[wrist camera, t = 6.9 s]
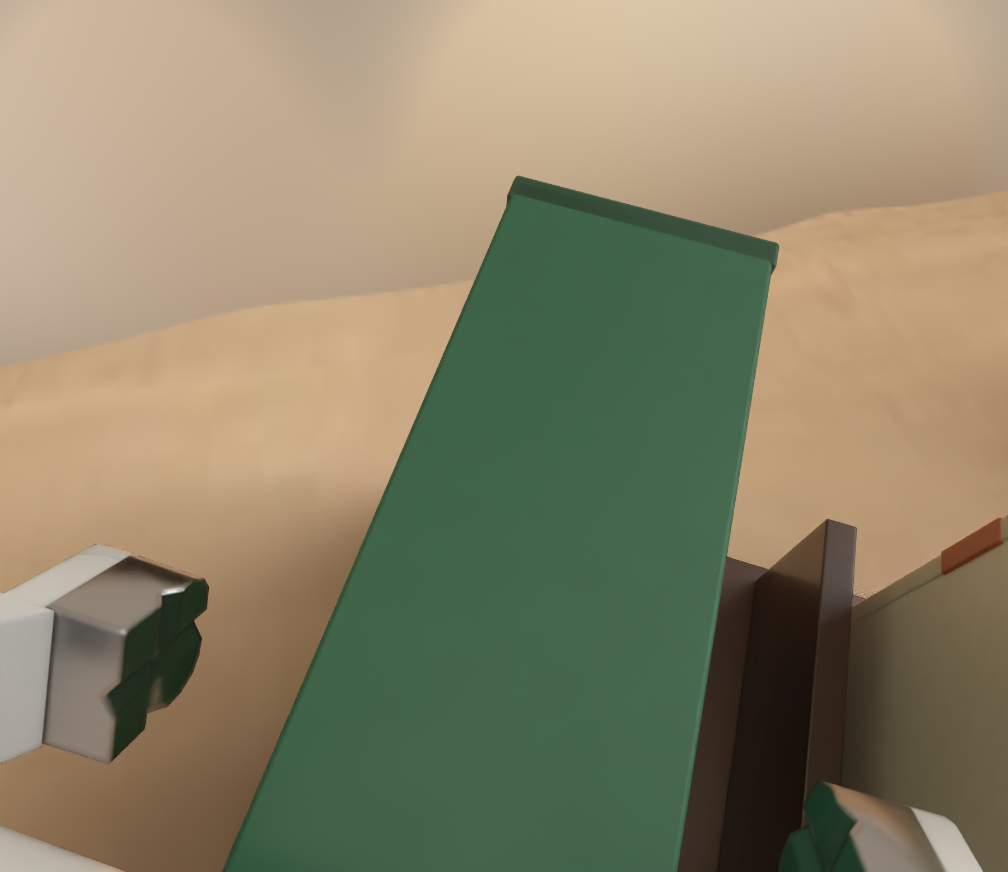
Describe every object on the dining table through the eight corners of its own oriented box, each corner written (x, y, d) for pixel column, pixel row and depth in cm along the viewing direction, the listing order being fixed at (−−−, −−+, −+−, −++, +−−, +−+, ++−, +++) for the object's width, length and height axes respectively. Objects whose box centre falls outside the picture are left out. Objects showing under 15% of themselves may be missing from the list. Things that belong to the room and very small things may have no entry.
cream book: (910, 663, 22) (1325, 499, 12) (903, 1043, 17) (1574, 1341, 7) (807, 631, 22) (1119, 443, 12) (772, 997, 18) (1229, 1217, 7)
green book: (608, 561, 23) (783, 240, 11) (517, 932, 18) (652, 1115, 6) (482, 522, 23) (514, 171, 11) (361, 875, 18) (180, 937, 6)
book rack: (966, 644, 24) (1119, 585, 18) (976, 1171, 17) (1212, 1320, 12) (440, 484, 25) (437, 386, 20) (274, 913, 19) (203, 940, 14)
